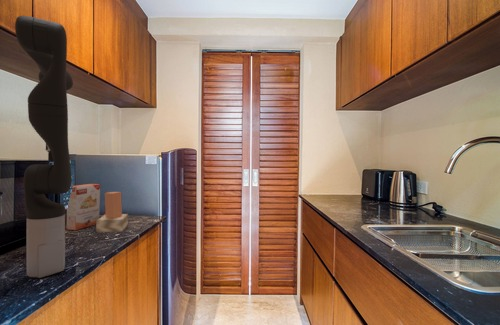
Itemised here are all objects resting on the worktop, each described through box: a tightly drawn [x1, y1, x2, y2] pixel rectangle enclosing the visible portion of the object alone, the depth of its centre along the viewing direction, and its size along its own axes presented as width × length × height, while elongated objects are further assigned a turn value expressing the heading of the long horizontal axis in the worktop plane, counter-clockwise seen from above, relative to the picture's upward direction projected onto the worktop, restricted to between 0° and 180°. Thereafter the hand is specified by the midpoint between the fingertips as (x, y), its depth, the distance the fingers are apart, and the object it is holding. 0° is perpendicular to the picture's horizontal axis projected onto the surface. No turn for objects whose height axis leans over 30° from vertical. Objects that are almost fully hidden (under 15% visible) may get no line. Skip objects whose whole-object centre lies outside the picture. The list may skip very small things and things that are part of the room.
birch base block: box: [95, 213, 129, 233], centre depth 120 cm, size 11×11×6 cm
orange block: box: [104, 191, 123, 218], centre depth 120 cm, size 5×5×12 cm
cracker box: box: [65, 183, 101, 231], centre depth 122 cm, size 14×6×21 cm, turn 168°
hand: (55, 162), depth 97 cm, fingers open, 8 cm apart
